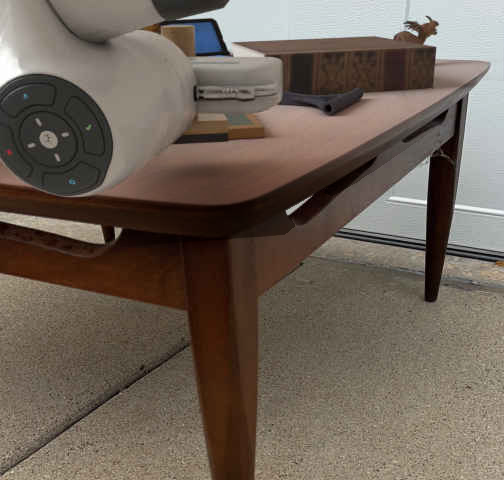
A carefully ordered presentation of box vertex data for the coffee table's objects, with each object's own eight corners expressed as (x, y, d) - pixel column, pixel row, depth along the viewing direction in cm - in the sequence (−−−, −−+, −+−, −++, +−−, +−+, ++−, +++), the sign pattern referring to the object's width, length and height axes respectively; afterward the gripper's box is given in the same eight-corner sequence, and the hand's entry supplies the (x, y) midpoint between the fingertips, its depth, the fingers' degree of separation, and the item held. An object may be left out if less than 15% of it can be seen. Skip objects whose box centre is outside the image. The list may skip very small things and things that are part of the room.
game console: (195, 70, 141) (192, 22, 137) (159, 65, 150) (156, 20, 147) (254, 63, 150) (253, 18, 146) (216, 59, 159) (214, 17, 156)
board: (107, 146, 77) (106, 134, 77) (111, 120, 92) (110, 110, 91) (264, 137, 80) (264, 126, 79) (244, 113, 94) (244, 103, 94)
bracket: (271, 95, 109) (271, 76, 107) (363, 99, 103) (364, 79, 102) (232, 111, 97) (231, 90, 96) (333, 116, 91) (334, 94, 90)
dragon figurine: (411, 61, 146) (414, 14, 142) (435, 63, 143) (440, 15, 139) (374, 68, 137) (377, 18, 134) (399, 70, 134) (403, 18, 130)
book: (432, 89, 112) (436, 46, 109) (266, 99, 106) (266, 54, 103) (372, 72, 133) (374, 36, 131) (231, 79, 127) (230, 42, 125)
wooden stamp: (141, 146, 63) (132, 28, 59) (141, 134, 67) (132, 25, 63) (228, 141, 64) (225, 26, 60) (222, 131, 68) (218, 23, 64)
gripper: (274, 49, 49) (293, 34, 61) (4, 49, 52) (75, 35, 64) (274, 139, 51) (293, 107, 64) (17, 134, 54) (83, 104, 67)
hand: (182, 71), depth 64 cm, fingers closed on wooden stamp, 3 cm apart
